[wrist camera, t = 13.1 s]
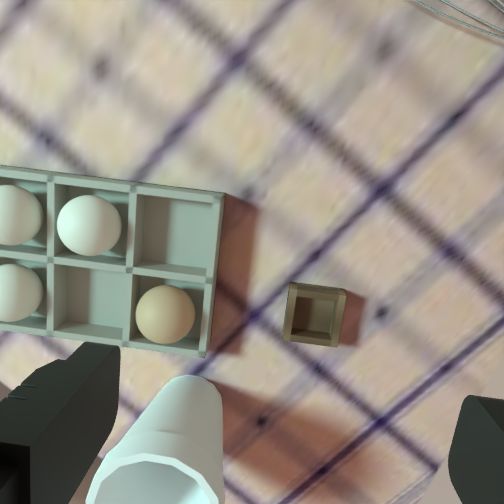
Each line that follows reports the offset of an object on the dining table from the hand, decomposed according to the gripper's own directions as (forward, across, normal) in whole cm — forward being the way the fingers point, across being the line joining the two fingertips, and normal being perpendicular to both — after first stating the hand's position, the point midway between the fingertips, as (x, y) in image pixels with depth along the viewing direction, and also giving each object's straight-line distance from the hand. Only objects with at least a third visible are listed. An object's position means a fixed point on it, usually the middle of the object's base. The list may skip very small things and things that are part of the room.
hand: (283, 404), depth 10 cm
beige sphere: (+25, +9, +9) cm, 28 cm away
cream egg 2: (+25, +22, +9) cm, 35 cm away
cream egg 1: (+25, +22, +2) cm, 34 cm away
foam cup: (+28, +6, +19) cm, 35 cm away
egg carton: (+28, +16, +6) cm, 33 cm away
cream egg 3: (+25, +16, +2) cm, 29 cm away
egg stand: (+28, -4, +8) cm, 29 cm away
